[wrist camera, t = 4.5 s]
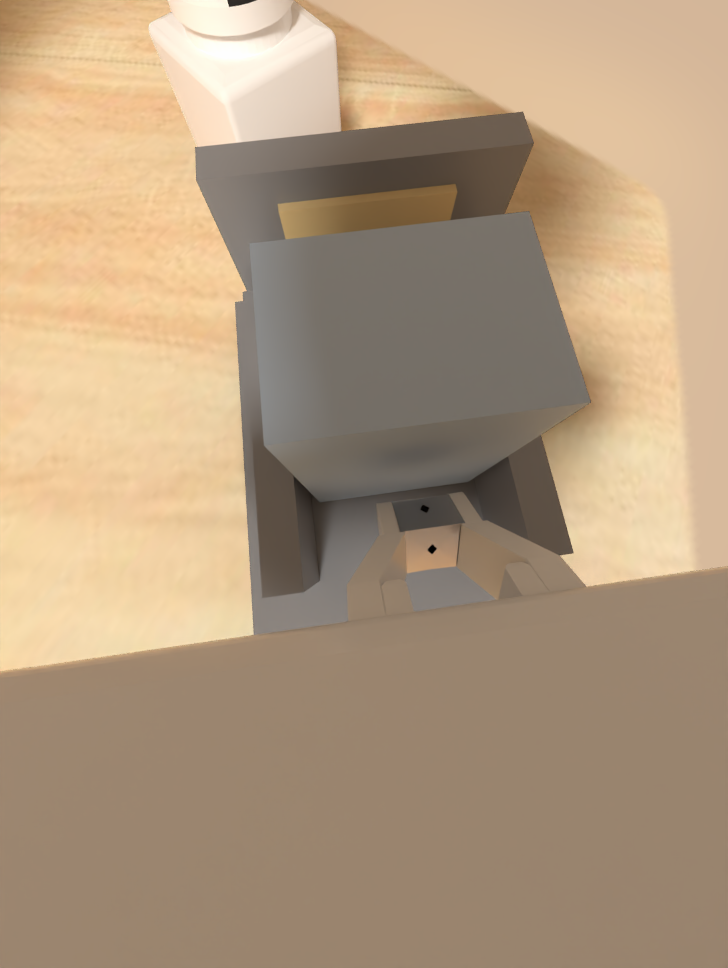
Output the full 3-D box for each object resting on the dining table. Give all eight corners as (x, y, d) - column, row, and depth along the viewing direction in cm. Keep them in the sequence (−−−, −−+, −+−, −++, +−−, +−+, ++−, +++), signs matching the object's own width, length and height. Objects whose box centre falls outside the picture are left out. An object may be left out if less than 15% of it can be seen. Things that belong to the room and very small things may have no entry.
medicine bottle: (288, 140, 23) (208, -277, 12) (347, 193, 22) (326, -208, 10) (212, 186, 22) (41, -216, 11) (269, 245, 21) (150, -133, 9)
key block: (468, 481, 16) (591, 402, 7) (319, 502, 16) (264, 445, 7) (446, 381, 17) (528, 210, 9) (308, 399, 17) (249, 243, 8)
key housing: (579, 675, 15) (869, 848, 6) (266, 724, 15) (123, 977, 6) (477, 285, 20) (563, 84, 12) (241, 314, 20) (143, 129, 11)
